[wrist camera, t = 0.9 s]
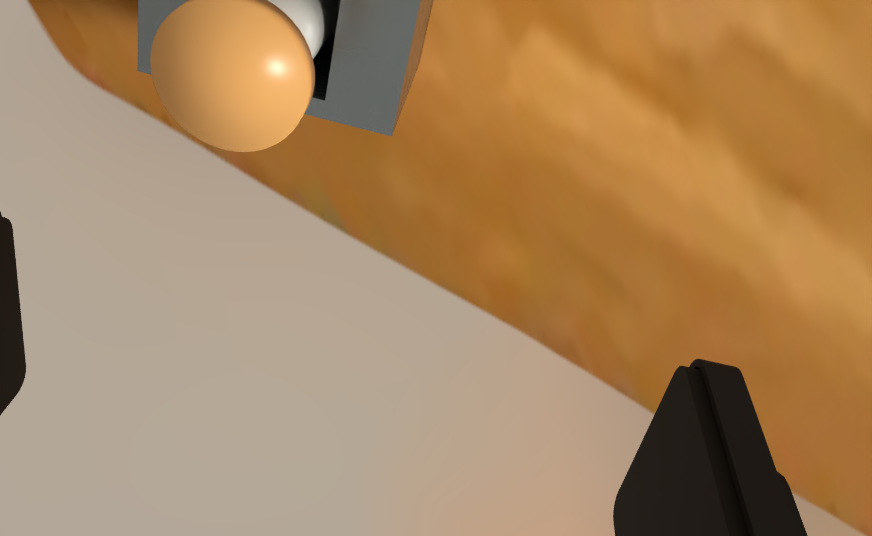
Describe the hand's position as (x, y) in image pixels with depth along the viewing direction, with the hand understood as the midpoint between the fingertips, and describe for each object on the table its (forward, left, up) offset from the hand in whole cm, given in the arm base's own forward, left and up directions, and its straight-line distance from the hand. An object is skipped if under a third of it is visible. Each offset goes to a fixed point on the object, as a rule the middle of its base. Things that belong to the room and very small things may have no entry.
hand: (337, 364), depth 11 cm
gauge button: (+3, -6, -23) cm, 24 cm away
